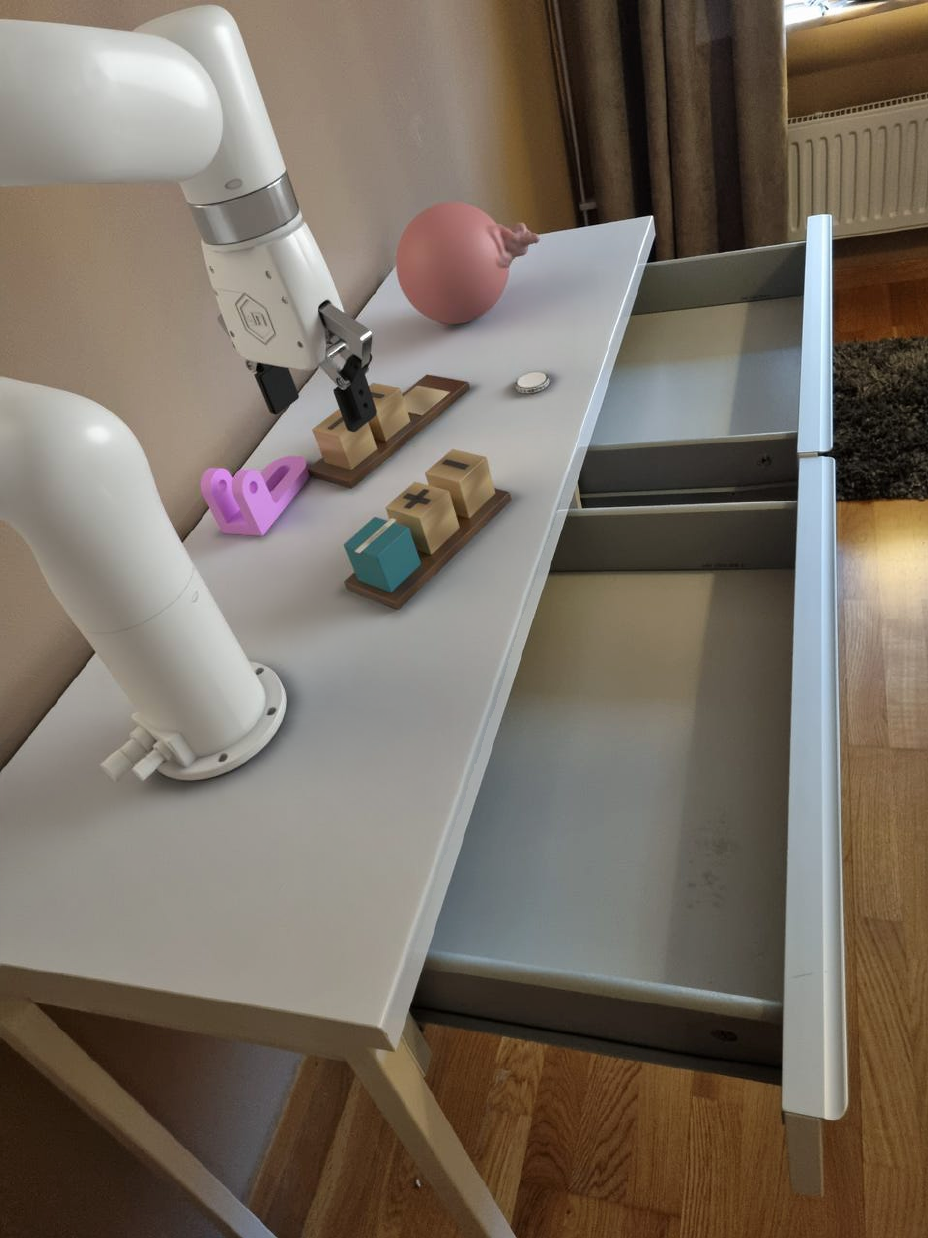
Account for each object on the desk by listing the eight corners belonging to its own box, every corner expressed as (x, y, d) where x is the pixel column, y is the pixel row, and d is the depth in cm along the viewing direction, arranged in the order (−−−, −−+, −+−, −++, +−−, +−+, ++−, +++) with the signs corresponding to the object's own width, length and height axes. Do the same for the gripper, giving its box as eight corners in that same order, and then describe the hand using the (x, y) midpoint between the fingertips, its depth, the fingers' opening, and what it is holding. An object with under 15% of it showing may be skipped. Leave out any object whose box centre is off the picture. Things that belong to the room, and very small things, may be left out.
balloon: (539, 335, 116) (518, 216, 106) (399, 349, 123) (366, 237, 112) (560, 283, 126) (542, 170, 116) (429, 298, 133) (402, 192, 123)
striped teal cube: (388, 595, 82) (374, 558, 79) (355, 582, 85) (339, 545, 82) (423, 562, 85) (411, 524, 82) (390, 550, 87) (376, 513, 84)
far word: (351, 488, 99) (335, 446, 95) (310, 476, 103) (293, 434, 100) (470, 388, 110) (460, 347, 106) (428, 381, 114) (417, 340, 110)
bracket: (262, 535, 96) (237, 483, 92) (222, 532, 99) (195, 481, 94) (318, 466, 104) (298, 414, 100) (279, 465, 107) (258, 414, 102)
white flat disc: (554, 376, 107) (553, 371, 107) (541, 393, 105) (540, 388, 104) (524, 375, 109) (523, 370, 108) (511, 392, 106) (510, 387, 106)
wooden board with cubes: (398, 610, 82) (381, 564, 78) (346, 589, 86) (327, 544, 82) (511, 499, 91) (500, 453, 87) (459, 485, 95) (447, 441, 91)
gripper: (140, 228, 68) (228, 422, 79) (289, 236, 58) (366, 456, 69) (211, 190, 72) (286, 379, 83) (363, 191, 62) (425, 406, 73)
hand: (323, 414), depth 76 cm, fingers open, 9 cm apart
